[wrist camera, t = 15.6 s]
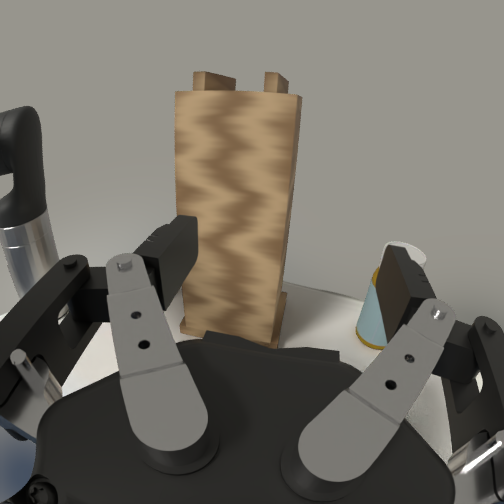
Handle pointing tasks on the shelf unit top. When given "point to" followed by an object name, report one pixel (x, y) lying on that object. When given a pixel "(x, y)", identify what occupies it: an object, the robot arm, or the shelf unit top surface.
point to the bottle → (370, 317)
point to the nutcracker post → (236, 202)
